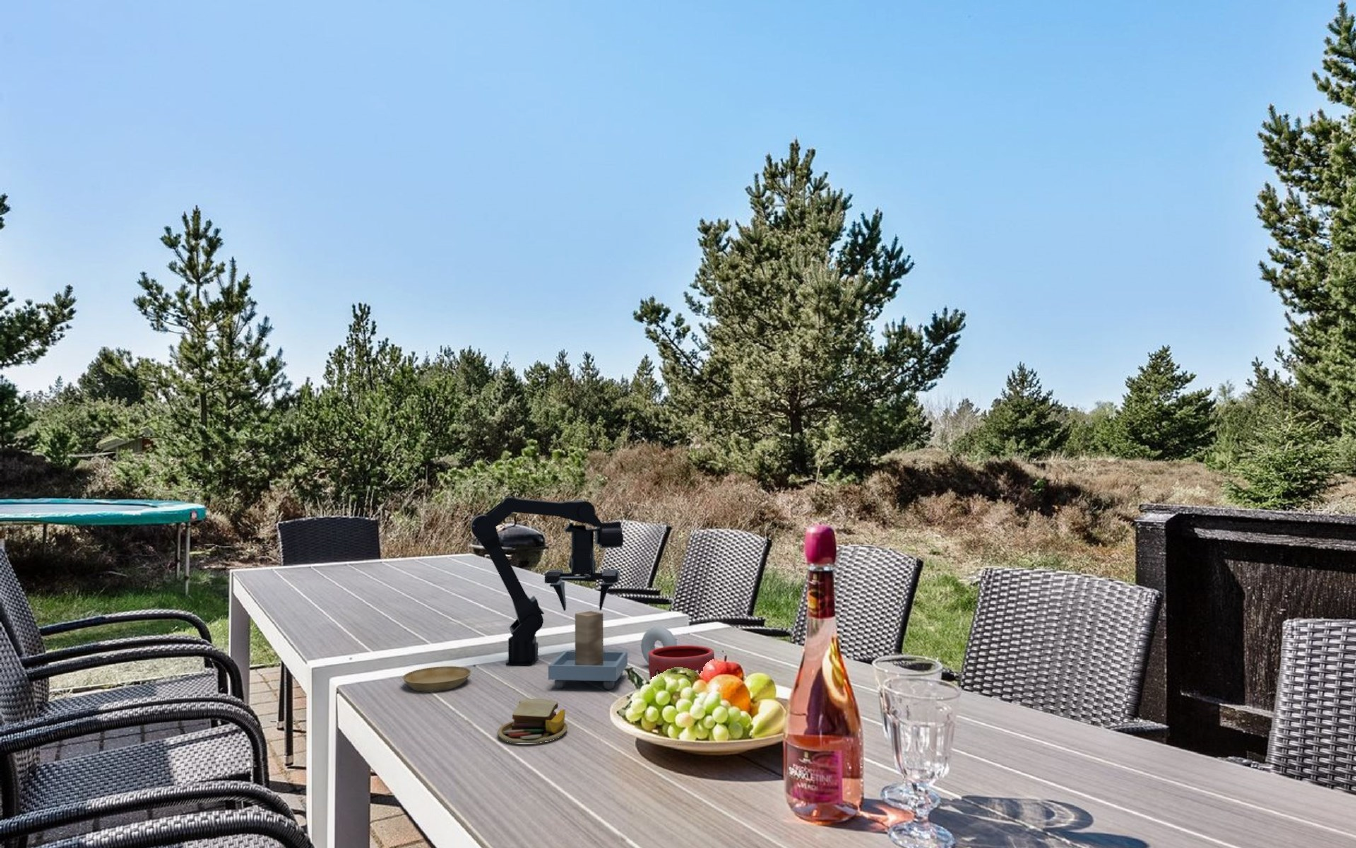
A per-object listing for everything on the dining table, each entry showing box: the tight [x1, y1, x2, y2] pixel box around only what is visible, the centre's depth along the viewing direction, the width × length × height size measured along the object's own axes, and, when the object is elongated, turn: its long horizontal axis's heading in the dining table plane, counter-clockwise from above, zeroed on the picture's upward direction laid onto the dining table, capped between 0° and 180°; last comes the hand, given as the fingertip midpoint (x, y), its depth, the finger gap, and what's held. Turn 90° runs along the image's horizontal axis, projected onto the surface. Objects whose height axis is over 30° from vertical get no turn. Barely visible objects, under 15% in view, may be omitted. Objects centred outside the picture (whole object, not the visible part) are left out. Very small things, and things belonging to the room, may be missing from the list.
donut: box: [640, 625, 678, 665], centre depth 186 cm, size 10×4×10 cm, turn 57°
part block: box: [574, 610, 604, 666], centre depth 174 cm, size 4×4×12 cm
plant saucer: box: [402, 665, 472, 693], centre depth 174 cm, size 15×15×3 cm
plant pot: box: [648, 644, 715, 680], centre depth 153 cm, size 13×13×12 cm
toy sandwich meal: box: [496, 698, 568, 744], centre depth 141 cm, size 12×14×5 cm
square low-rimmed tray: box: [547, 650, 629, 691], centre depth 174 cm, size 15×14×5 cm
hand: (582, 610), depth 198 cm, fingers open, 9 cm apart
